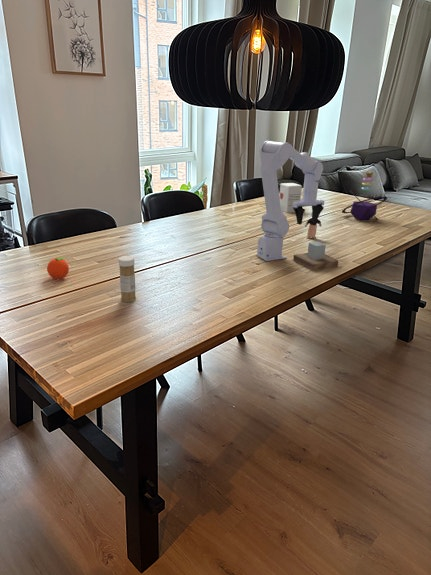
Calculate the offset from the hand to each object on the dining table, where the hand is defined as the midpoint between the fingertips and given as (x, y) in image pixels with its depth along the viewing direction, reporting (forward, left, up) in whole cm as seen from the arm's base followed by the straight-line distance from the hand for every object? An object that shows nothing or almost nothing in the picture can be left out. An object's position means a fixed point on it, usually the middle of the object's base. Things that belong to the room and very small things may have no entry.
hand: (306, 223), depth 187 cm
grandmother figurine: (+12, +10, -11) cm, 19 cm away
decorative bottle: (+60, +29, -11) cm, 67 cm away
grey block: (-9, -19, -8) cm, 22 cm away
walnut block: (-9, -19, -11) cm, 24 cm away
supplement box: (+34, +60, -11) cm, 70 cm away
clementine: (-100, +2, -11) cm, 101 cm away
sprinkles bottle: (-84, -24, -11) cm, 88 cm away
